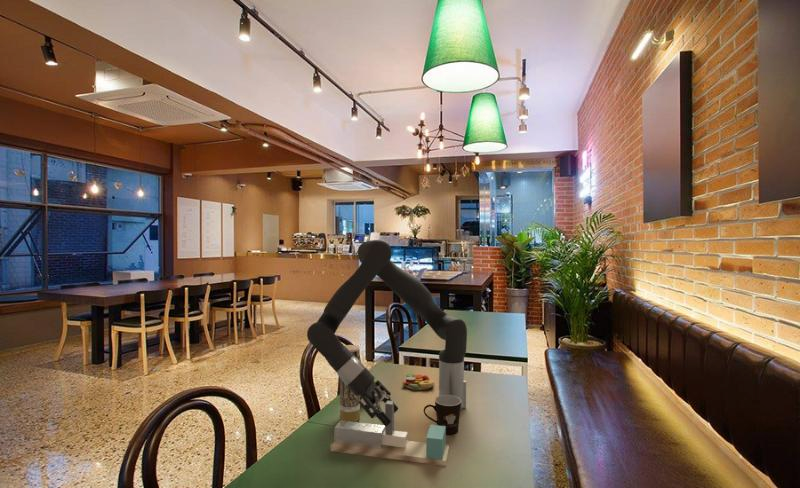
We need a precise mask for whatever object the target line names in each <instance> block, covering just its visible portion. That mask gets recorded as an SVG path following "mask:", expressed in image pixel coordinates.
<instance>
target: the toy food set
mask: <svg viewBox="0 0 800 488" xmlns="http://www.w3.org/2000/svg"><path fill="white" fill-rule="evenodd" d="M402 384H403V385H404V386H405V387H406V388H408V389H410V390H412V391H413V390H414V391H425V390H429V389H431V388H432V387H434V386H435V381H433V380H432V379H430V378H429V376H428V375H422V374H414V373H407V374H406V379H405V380H404V381H403V382H402Z"/></svg>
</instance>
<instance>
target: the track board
mask: <svg viewBox="0 0 800 488" xmlns="http://www.w3.org/2000/svg"><path fill="white" fill-rule="evenodd" d="M330 451H331V452H337V453H342V454H352V455H358V456H367V457H374V458H381V459H389V460H397V461H405V462H412V463H420V464H427V465H434V466H442V467H447V463H448V458H449V453H450V445H447V444H446V446H445V451H444V455H443V460H439V459H431V458H426V442H422V441H421V442H420V441H412V440H408V442H407V445H406V447H405V448H404V447H396V446H388V445H383V447H382V448H381V449H376V448H368V447H360V446H352V445H345V444H337V443H334V441H333V442H332V443H331V445H330Z"/></svg>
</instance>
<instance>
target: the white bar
mask: <svg viewBox="0 0 800 488" xmlns="http://www.w3.org/2000/svg"><path fill="white" fill-rule="evenodd" d="M394 403H395V400H392V401H387V402H386V403H384V404H385V405H384V406H385V407H384V409H385V412H384V413H385V414H386V415H387V416H388V417H389V419H390V420H391V423H390V424H389V425H388V426H385V430H384V431H383V432H382V445H388V446H396V447H404V448H405V447H406V445H407V442H408V441H409V440H408V439H409V438H408V435H409V434H408V431H401V430H395V413H394Z"/></svg>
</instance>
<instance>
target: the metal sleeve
mask: <svg viewBox="0 0 800 488" xmlns="http://www.w3.org/2000/svg"><path fill="white" fill-rule="evenodd" d="M333 429H334V430H333V431H334V432H333V433H334V434H333V435H334V436H333V439H334V441H333V442H334V443H337V444H345V445H352V446H360V447H368V448H376V449H381V448H382V447H383V445H382V432H383V431H384V430H385V426H384V424H375V423H367V422H359V421H357V422H350V421H341V420H340V419H339V422H338V423H337V424H336V425H335V426H334V428H333Z"/></svg>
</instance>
